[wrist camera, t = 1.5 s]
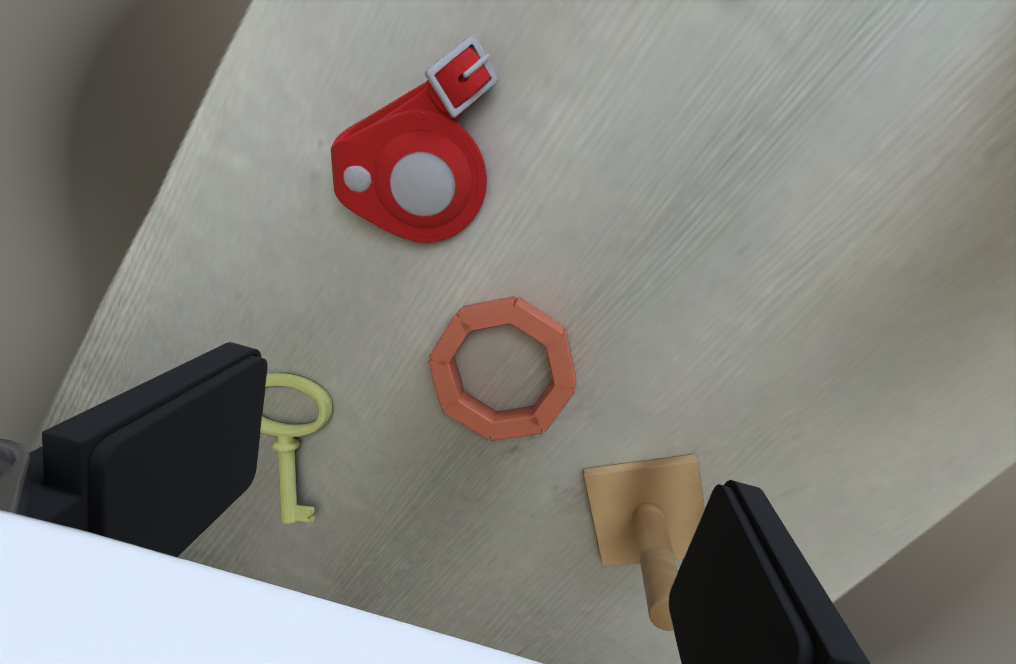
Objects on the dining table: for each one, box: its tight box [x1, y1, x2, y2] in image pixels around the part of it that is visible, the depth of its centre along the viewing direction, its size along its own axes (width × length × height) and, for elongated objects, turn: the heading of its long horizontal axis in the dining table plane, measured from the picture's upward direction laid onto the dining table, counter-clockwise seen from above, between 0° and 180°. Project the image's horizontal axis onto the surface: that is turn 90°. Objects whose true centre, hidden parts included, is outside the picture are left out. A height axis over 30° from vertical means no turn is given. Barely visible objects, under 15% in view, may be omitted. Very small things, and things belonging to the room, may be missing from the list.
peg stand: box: [584, 454, 705, 631], centre depth 34 cm, size 8×8×10 cm
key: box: [260, 373, 332, 524], centre depth 40 cm, size 7×12×2 cm, turn 16°
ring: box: [429, 296, 576, 441], centre depth 36 cm, size 10×10×2 cm
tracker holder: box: [331, 34, 498, 243], centre depth 32 cm, size 12×4×10 cm
